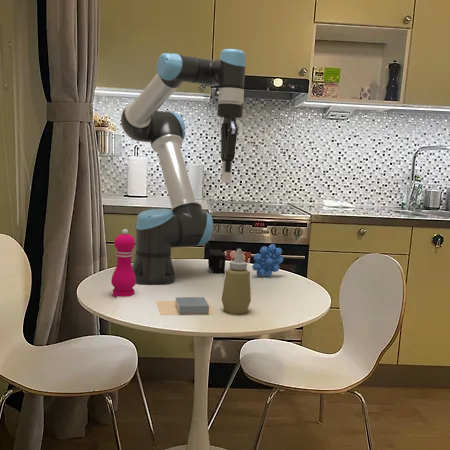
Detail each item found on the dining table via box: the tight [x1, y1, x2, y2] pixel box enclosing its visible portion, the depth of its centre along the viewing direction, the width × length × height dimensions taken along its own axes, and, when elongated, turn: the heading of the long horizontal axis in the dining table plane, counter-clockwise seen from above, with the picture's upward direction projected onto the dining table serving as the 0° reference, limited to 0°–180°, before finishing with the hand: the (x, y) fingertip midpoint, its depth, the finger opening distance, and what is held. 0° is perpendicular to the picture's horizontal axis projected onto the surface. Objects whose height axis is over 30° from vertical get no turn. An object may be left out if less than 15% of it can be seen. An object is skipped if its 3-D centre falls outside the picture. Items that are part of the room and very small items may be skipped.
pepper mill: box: [110, 228, 137, 298], centre depth 151 cm, size 7×7×20 cm
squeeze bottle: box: [221, 248, 252, 315], centre depth 141 cm, size 8×8×18 cm
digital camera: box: [207, 249, 226, 275], centre depth 189 cm, size 10×5×7 cm, turn 11°
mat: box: [155, 300, 216, 316], centre depth 142 cm, size 12×15×1 cm
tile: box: [175, 296, 209, 315], centre depth 141 cm, size 2×8×8 cm
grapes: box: [252, 243, 284, 278], centre depth 184 cm, size 12×7×12 cm, turn 108°
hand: (226, 182), depth 157 cm, fingers closed
